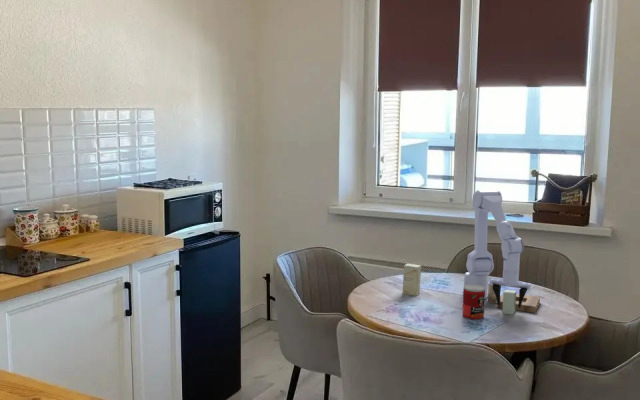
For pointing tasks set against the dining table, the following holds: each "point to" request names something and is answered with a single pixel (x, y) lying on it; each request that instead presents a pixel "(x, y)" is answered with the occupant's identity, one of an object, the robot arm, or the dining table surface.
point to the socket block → (524, 303)
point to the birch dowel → (491, 295)
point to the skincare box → (411, 279)
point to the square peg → (509, 301)
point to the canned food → (473, 301)
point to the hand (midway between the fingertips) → (509, 305)
